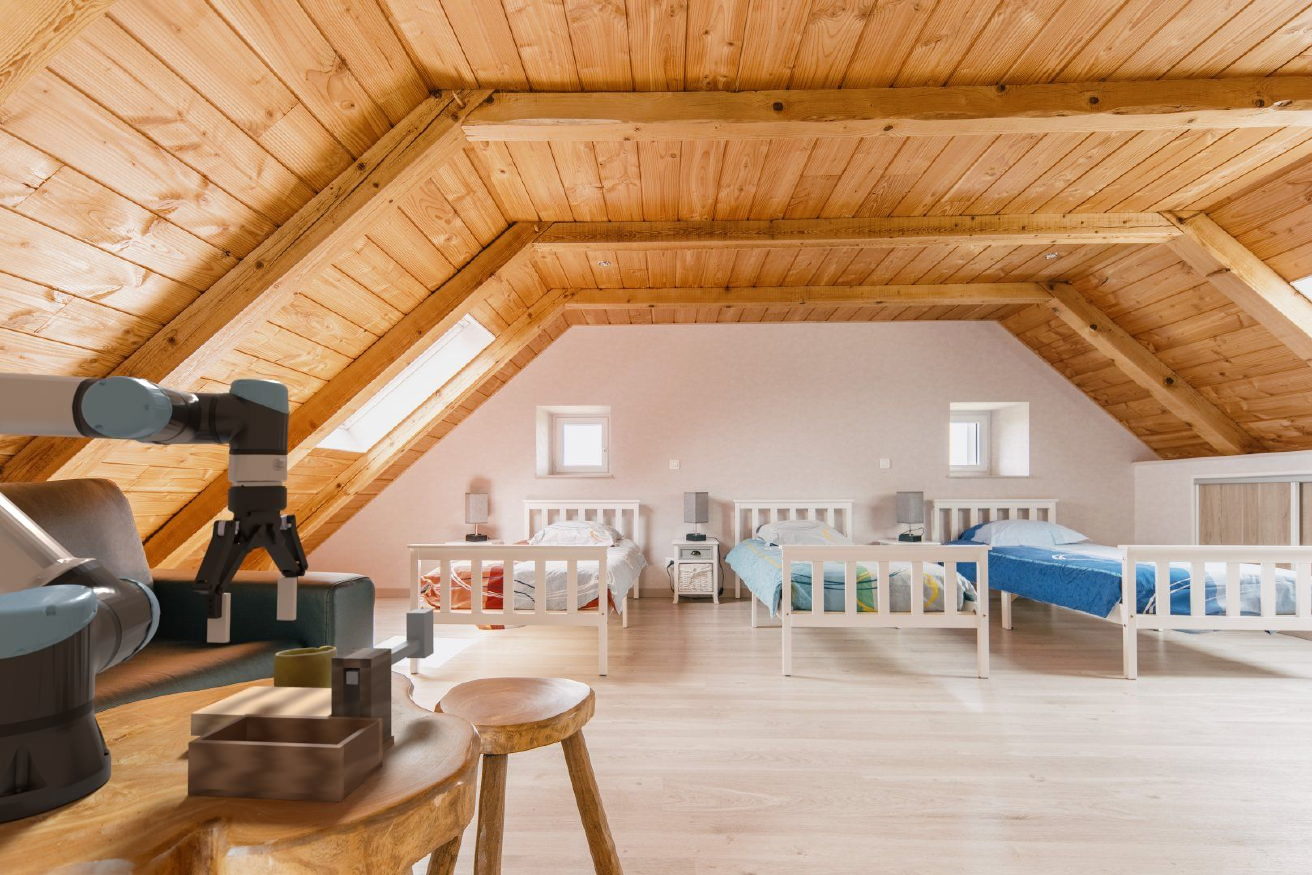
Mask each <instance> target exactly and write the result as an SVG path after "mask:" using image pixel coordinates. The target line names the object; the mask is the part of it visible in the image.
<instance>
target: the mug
mask: <svg viewBox="0 0 1312 875" xmlns="http://www.w3.org/2000/svg"><path fill="white" fill-rule="evenodd" d="M337 655H338V649H337V647H335V646H331V645H324V646H320V647H319V648H317V647H306V648H293V649H287V650H282V651H279V652H276V653H275V654H274V659H273V687H300V688H331V664H332V658H333V657H335V656H337Z"/></svg>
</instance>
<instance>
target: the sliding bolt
mask: <svg viewBox="0 0 1312 875" xmlns="http://www.w3.org/2000/svg"><path fill="white" fill-rule="evenodd" d="M405 620H406V623H405V624H406V641H404V642H402V643H400V644H398V645H395V646H394V647H392V648H391V667H392V666H394V665H395V664H396V663H399V662H401V661H402V660H404V659H405V658H406V659H426V658H428V657H429V656H431V655H433V654H434V608H415V609H412V610H410V611H408V612H406V619H405ZM359 683H360V668H353V669H351V670H349V671H347V672H346V684H359Z"/></svg>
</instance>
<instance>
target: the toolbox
mask: <svg viewBox="0 0 1312 875" xmlns="http://www.w3.org/2000/svg"><path fill="white" fill-rule="evenodd" d="M391 649H392V648H388V647H387V648H386V647H384V648H383V647H382V648H380V647H379V648H378V647H377V648H375V647H353V648H351V649H349V650H345V651H344V652H342V653H340V654H337V656H335V657H333V658H332V664H331V717H328V716H294V715H260V714H245V715H243V716H241V717H239V718H237V719H235V720H233V721H231V722H229V723H227V724H225V725H223V726H221V727H219V728H217V729H215V730H213V731H210V732H208V733H206V734H204V735H202V736H197V738H194V739H192V740H190V741H188V744H187V746H188V748H187V749H188V750H187V751H188V752H187V753H188V754H187V755H188V756H187V757H188V758H187V796H197V797H199V796H204V797H220V798H221V797H222V798H224V797H225V798H242V799H260V800H261V799H264V800H265V799H266V800H281V801H282V800H284V801H285V800H287V801H302V802H303V801H306V802H308V801H309V802H327V803H329V802H331V803H340V802H342V801H343V800H344V799H345V798H346V797H348V796H349V795H350V794H352V793H353V792H354V791H355V790H356V789H357V788H358V787H360V786H361V785H362V784H364V783H365V781H367V780H368V779H369V778H371V777H372V776H373V775H374V774H375V773H377V772H378V771H379V770H380V769H381V768H383V753H384V752H385V751H386V750H388V749H389V748H390V747H391V746H392V745H394V744H395V735H392V666H391ZM353 668H360V683H359V684H346V672H347V671H349V670H351V669H353Z"/></svg>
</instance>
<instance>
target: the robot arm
mask: <svg viewBox="0 0 1312 875" xmlns="http://www.w3.org/2000/svg"><path fill="white" fill-rule="evenodd" d="M289 406H290V405H289V390H288V387H287V386H286V385H285V384H284V383H283V382H281V381H277V380H270V379H263V378H261V379H260V378H245V379H244V378H238V379H234V380H233V381H232V382H231V383H230V388H229V390H228V392H222V393H221V392H217V393H212V392H211V393H209V392H190V391H189V392H188V391H187V392H186V391H183V390H180V389H175V388H171V387H168V386H165V385H161V384H158V383H154V382H153V381H150V380H147V379H146V378H142V377H141V378H140V377H134V376H123V375H118V376H116V375H114V376H109V377H106V378H103V377H102V378H99V377H98V378H96V377H90V376H89V377H87V376H71V375H70V376H68V375H55V374H53V375H52V374H50V375H49V374H38V373H37V374H35V373H34V374H33V373H20V372H19V373H16V372H1V371H0V435H2V436H3V435H5V436H7V435H8V436H29V437H31V436H32V437H33V436H34V437H35V436H36V437H38V436H40V437H61V438H62V437H63V438H64V437H67V438H90V439H91V438H92V439H105V440H106V439H107V440H108V439H109V440H111V439H112V440H132V441H136V442H138V443H141V444H147V445H148V444H149V445H151V444H153V445H160V446H161V445H163V446H170V445H212V444H213V445H214V444H217V445H228V447H229V451H228V467H227V469H228V470H227V471H228V474H227V481H228V483H232V486H229V488H227V510H228V511H229V512H231V513H233V517H232V519H224V520H223V519H216V520H215V521H214V522H213V526H212V527H213V528H212V535H211V537H210V538H211V539H210V541H209V543H208V546H207V549H206V551H205V554H204V556H203V558H202V561H201V563H200V566H199V568H198V571H197V574H196V575H195V579H194V581H193V583H192V586H191V590H192V591H193V592H197V593H198V594H199V595H205V618H206V620H207V629H206V630H207V632H206V633H207V634H206V635H207V636H206V642H207V643H219V644H221V643H223V644H224V643H229V642H230V637H231V636H230V635H231V634H230V629H231V628H230V627H231V598H232V597H231V596H232V594H231V593H230V592H226V591H227V589H228V588H229V586H230V584H231V583H232V582H233V579H234V577H235V575H236V574H237V573H238V571H239V569H240V567H241V566H242V564H243V562H244V561H245V558H246V557H247V555H248V554H250V553H252V552H253V551H254V550H257V549H261V548H264V549H265V551H266V552H267V553H268V555H269V556H270V558H271V559H272V561H273V563H274V564H275V566H276V567H277V569H278V571H279V572H280V573H281V575H282V576H281V577H277V597H276V598H277V599H276V601H277V602H276V604H277V606H276V608H277V609H276V620H277V621H295V620H297V600H298V599H297V596H298V591H299V590H298V588H299V587H298V585H299V577H304V576H305V575H306V571H307V570H308V569H309V563H308V560H307V556H306V554H305V550H304V548H303V545H302V542H301V539H300V535H299V532H298V528H297V517H296V515H295V514H284V513H283V514H281V512H282V511H285V510H286V509H287V506H288V487H287V486H286V485H283V483H285V482H287V481H288V452H289V451H288V448H289V446H288V445H289V443H288V442H289V427H290V426H289V425H290V424H289V423H290V415H291V412H290V411H289V410H290V409H289V408H290V407H289ZM156 596H157V595H155V593H154V592H153V590H151V588H149V587H148V586H147V585H146V584H144V583H143V582H140V581H138V580H135V579H131V578H127V577H117V576H116V575H115V574H114V573H113V572H112V571H110V570H109V569H108V568H107V567H106V566H104V565H103V563H101V562H100V561H99V560H98V559H96V558H94V557H81V558H79V557H75V556H74V555H72V554H71V552H70V551H68V550H67V549H66V548H65V547H63V545H61V544H60V543H59V542H58V541H57V540H55V538H53V537H52V536H51V535H50V534H49V533H48V532H46V531H45V530H44V529H43V528H42V527H41V526H40V525H39V524H38V523H37V522H36V521H34V520H33V519H32V518H31V517H29V516H28V514H26V513H25V512H23V510H21V509H20V508H19V507H18V506H17V505H16V504H15V503H13V502H12V501H11V500H10V499H9V498H7V496H5V495H4V494H3V493H2V492H1V491H0V823H4V822H9V821H13V820H18V819H21V818H25V817H29V816H33V815H36V814H39V813H42V812H45V811H49V810H52V809H55V808H57V807H60V806H62V805H65V804H68V803H71V802H73V801H75V800H77V799H79V798H82V797H84V796H86V795H89V794H90V793H91V792H93V791H95V790H97V789H99V788H100V787H101V786H103V785H104V784H105V783H107V781H108V780H109V779H110V778H111V775H112V754H111V751H110V749H109V748H107V744H106V741H105V738H104V735H103V732H102V729H101V728H100V725H99V723H98V720H97V718H96V716H95V691H96V688H95V687H96V686H95V685H96V675H98V674H100V673H102V672H104V671H106V670H107V669H110V668H111V667H115V666H118V665H119V664H121V663H124V662H126V661H127V660H128V661H129V660H130V659H131V658H132V657H133V656H134V655H135V654H136V653H138V652H139V651H140V650H142V649H143V648H144V647H145V646H146V645H147V644H148V643H149V642H150V641H151V639H152V638H153V637H154V635H155V633H156V632H157V630H158V627H159V623H160V615H161V609H160V603H159V600H158V599H157V597H156Z"/></svg>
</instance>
